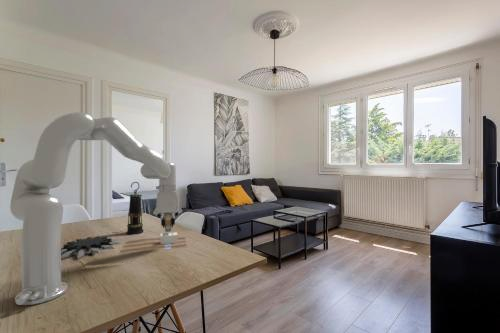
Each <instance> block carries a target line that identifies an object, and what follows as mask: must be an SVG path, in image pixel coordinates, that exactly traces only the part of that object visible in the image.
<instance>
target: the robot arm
mask: <svg viewBox="0 0 500 333" xmlns="http://www.w3.org/2000/svg"><path fill="white" fill-rule="evenodd" d="M77 140H78V141H106V142H108V143H109V144H110V145H111V146H112V147H113V148H114V149H115V150H116V151H117V152H118V153H119V154H120V155H122V156H123V157H124V158H127V159H129V160H132V161H136V162H138V163H141V164H142V165H141V167H140V175H141V176H142V177H144V178H145V179H149V180H158V183H159V184H158V186H155V190H158V191H157V193H156V194H157V195H156V202H155V203H156V204H155V205H156V207H155V209H154V210H153V212H152V214H153V215H155V216H156V217H158V218H159V219H160V222H161V226H162V229H165V224H164V213H172V225H171V228H174V225H176V223H175V222H176V221H175V219H176V217H178V215H180V214H181V213H183V209H182V208H181V206H180V202H179V193H178V190H177V187H176V185H177V184H176V182H177V181H176V179H177V178H176V177H177V176H176V174H177V173H176V164H175V163H174V162H167V160H166V159H165V158H164V157H163V156H162V155H161V154H160V153H159V152H157V151H156V150H154V149H152V148H150V147H149V146H147V145H145V144H143V143H141V142H140V141H139V140H138V139H137V138H136V137H135V136H134V135H133V133H131V132H130V131H129V130H128V129H127V128H126V127H125V126H124V125H123V124H122V122H120V121H119V120H118V119H116V118H115V117H112V116H107V117H100V118H93V117H92V116H91V115H90V114H88V113H86V112H81V111H79V112H78V111H76V112H71V113H67V114H63V115H61V116H58V117H57V118H54V120H53V121H51V122H50V123H49V124H48V125H47V126H46V127H45V128H44V129H43V131H42V133H41V134H40V137H39V139H38V142H37V146H36V149H35V152H34V156H33V159H30V160H28V161H26V162H25V163H23V164H22V165H21V166H20V168H18V170H17V172H16V176H15V180H14V185H13V190H12V194H11V198H10V206H9V210H10V213H11V214H12V215H13V216H12V217H14V218H16V219H17V220H20V221H23V224H22V229H21V235H20V248H21V249H20V254H21V255H20V256H21V257H20V258H21V260H20V262H21V264H20V265H21V291H20V292H19V293H18V294H17V295H16V296H15V297H14V303H15V304H16V305H18V306H32V305H37V304H42V303H45V302H48V301H52V300H54V299H55V298H58V297H60V296H62V295H63V294H64V293H65V292H66V291H68V283H66V282H63V281H62V259H61V247H62V242H61V241H62V238H61V236H62V222H63V217H64V206H63V203H62V200H60V198H58V197H57V196H56V195H54V194H51V193H50V189H55V188H57V187H60V186H61V185H62V184H63V182H64V181H65V178H66V174H67V168H68V162H69V158H70V157H69V156H70V154H71V150H72V147H73V145H74V144H75V142H77Z"/></svg>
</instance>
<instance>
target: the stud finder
mask: <svg viewBox="0 0 500 333" xmlns="http://www.w3.org/2000/svg"><path fill="white" fill-rule="evenodd" d="M159 236H160V237H159V238H160V245H161V244H171V243H177V236H178V231H175V232H163V233H160V235H159Z"/></svg>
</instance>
